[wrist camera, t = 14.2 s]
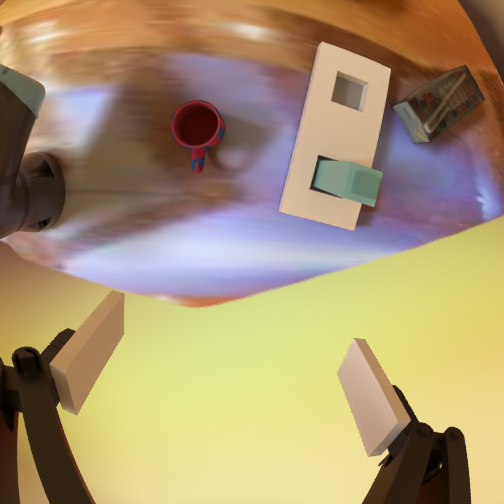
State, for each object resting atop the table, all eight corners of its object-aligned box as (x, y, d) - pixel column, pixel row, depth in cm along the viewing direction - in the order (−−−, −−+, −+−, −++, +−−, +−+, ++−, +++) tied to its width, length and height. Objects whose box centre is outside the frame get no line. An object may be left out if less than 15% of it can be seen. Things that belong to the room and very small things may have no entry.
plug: (311, 185, 43) (345, 199, 28) (317, 160, 42) (355, 161, 27) (334, 191, 44) (378, 209, 28) (340, 167, 42) (388, 173, 27)
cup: (227, 111, 40) (224, 102, 33) (218, 173, 43) (213, 176, 36) (185, 107, 39) (174, 98, 33) (176, 169, 42) (164, 170, 36)
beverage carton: (388, 105, 40) (407, 99, 33) (448, 68, 36) (468, 62, 30) (411, 144, 42) (432, 144, 35) (467, 103, 39) (488, 100, 32)
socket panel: (278, 208, 45) (280, 212, 42) (317, 48, 36) (321, 41, 34) (347, 226, 46) (353, 230, 43) (383, 73, 38) (390, 69, 35)
